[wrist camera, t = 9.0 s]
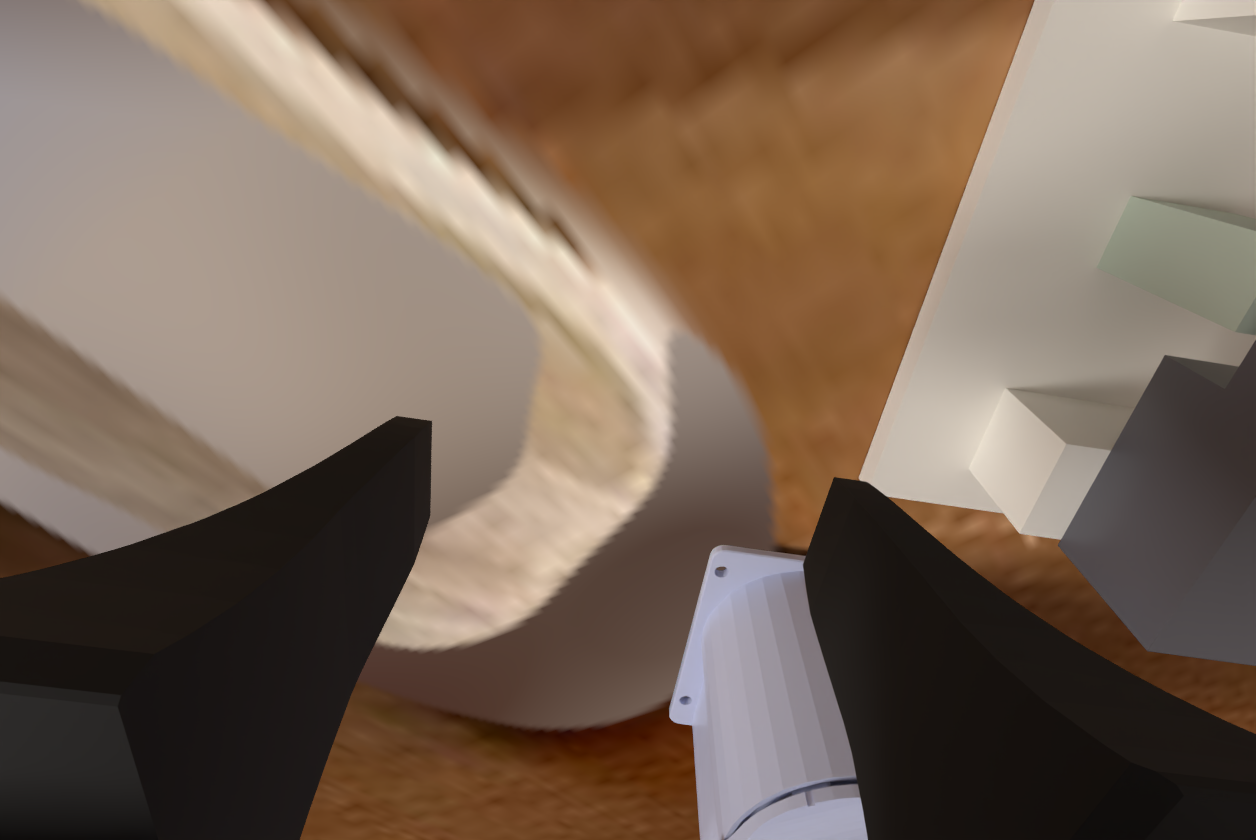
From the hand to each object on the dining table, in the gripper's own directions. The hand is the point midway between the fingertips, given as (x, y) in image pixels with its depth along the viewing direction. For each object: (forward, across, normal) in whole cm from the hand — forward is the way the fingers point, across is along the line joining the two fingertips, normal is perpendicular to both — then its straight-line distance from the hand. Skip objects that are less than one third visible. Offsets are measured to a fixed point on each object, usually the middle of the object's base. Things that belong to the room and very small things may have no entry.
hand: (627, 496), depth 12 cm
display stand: (+10, -14, -4) cm, 18 cm away
